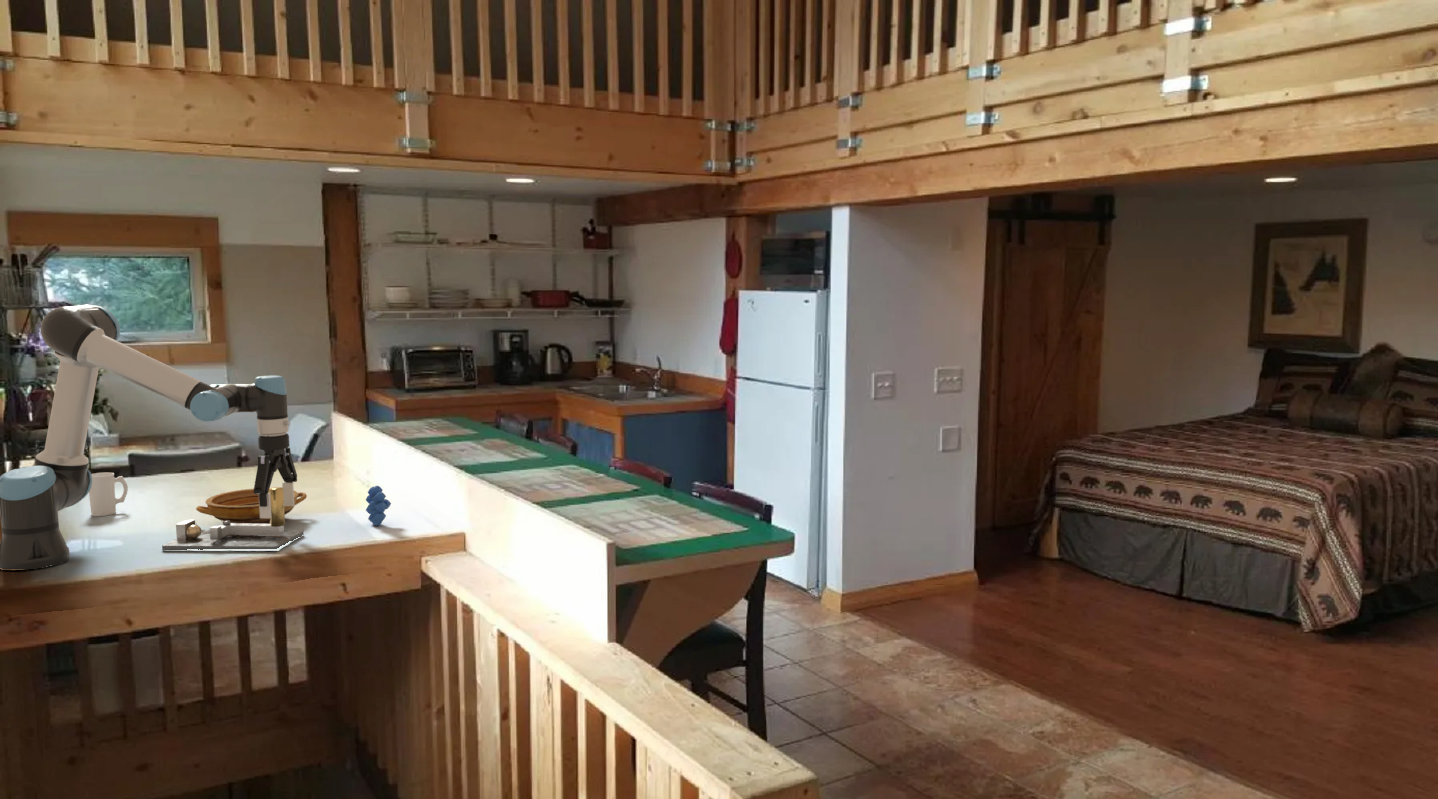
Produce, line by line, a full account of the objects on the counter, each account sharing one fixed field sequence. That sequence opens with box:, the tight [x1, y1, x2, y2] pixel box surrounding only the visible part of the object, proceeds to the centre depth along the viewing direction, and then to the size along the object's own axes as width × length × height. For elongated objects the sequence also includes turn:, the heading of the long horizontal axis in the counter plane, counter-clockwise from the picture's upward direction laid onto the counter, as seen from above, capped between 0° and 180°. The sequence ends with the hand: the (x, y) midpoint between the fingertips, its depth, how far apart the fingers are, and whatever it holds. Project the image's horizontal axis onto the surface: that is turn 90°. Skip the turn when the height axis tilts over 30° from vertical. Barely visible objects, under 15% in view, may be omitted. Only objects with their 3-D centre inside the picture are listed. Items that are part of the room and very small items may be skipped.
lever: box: [209, 486, 286, 540], centre depth 263 cm, size 8×17×12 cm, turn 88°
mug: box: [88, 472, 129, 517], centre depth 296 cm, size 10×7×12 cm, turn 129°
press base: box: [161, 519, 305, 551], centre depth 264 cm, size 16×30×6 cm, turn 89°
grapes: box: [365, 485, 392, 526], centre depth 283 cm, size 12×7×12 cm, turn 38°
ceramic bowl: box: [195, 488, 308, 524], centre depth 285 cm, size 30×24×8 cm
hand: (277, 511), depth 265 cm, fingers open, 13 cm apart
